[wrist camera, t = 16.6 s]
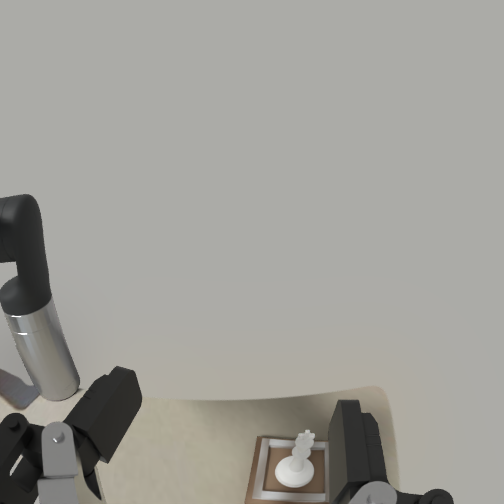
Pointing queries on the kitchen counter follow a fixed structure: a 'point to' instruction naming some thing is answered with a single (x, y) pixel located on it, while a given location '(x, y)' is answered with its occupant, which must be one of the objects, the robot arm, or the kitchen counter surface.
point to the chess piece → (297, 463)
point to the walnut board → (276, 494)
